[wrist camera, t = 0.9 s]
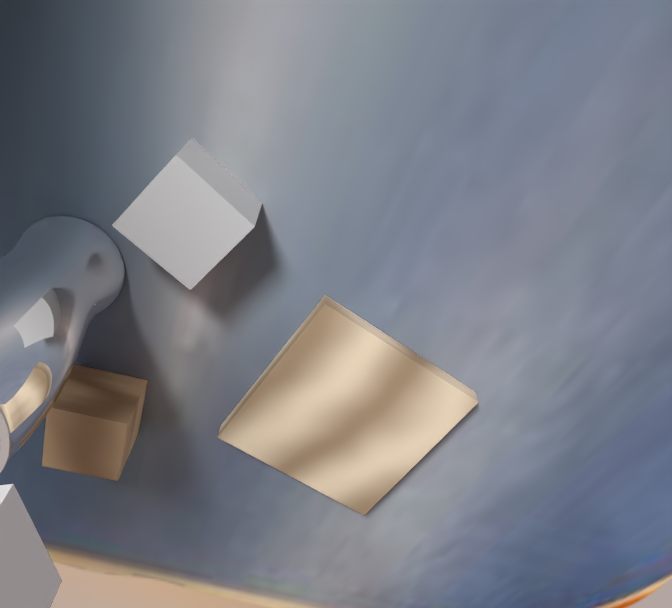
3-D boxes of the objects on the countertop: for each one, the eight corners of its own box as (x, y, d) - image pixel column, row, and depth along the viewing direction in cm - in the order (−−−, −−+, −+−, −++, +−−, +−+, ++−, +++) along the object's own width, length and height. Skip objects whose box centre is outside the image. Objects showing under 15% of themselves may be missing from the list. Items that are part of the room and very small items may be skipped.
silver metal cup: (20, 314, 36) (-160, 498, 23) (0, 202, 33) (-221, 339, 20) (137, 321, 37) (27, 507, 23) (128, 211, 33) (-3, 353, 20)
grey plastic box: (134, 201, 33) (111, 225, 30) (192, 137, 32) (175, 154, 28) (204, 260, 35) (190, 290, 31) (262, 202, 33) (254, 226, 30)
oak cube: (70, 418, 40) (41, 465, 36) (76, 363, 38) (46, 406, 34) (138, 433, 41) (117, 481, 37) (148, 379, 39) (127, 424, 35)
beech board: (220, 425, 40) (217, 437, 39) (324, 294, 36) (325, 303, 35) (363, 502, 44) (364, 515, 42) (474, 391, 39) (478, 402, 38)
